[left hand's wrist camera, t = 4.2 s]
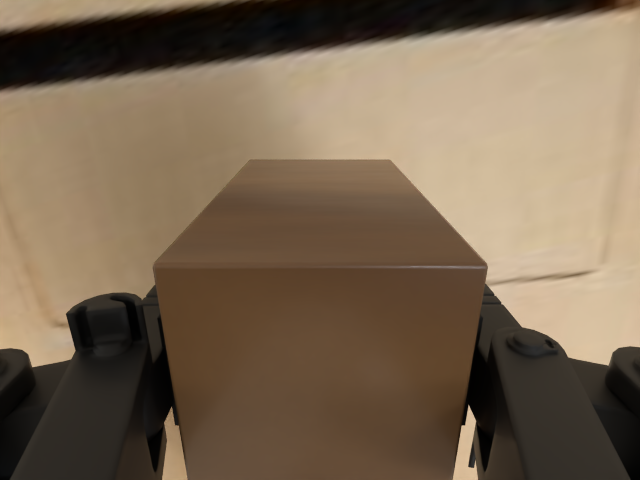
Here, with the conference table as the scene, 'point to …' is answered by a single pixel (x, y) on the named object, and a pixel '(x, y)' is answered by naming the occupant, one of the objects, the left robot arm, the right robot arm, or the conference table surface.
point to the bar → (320, 326)
